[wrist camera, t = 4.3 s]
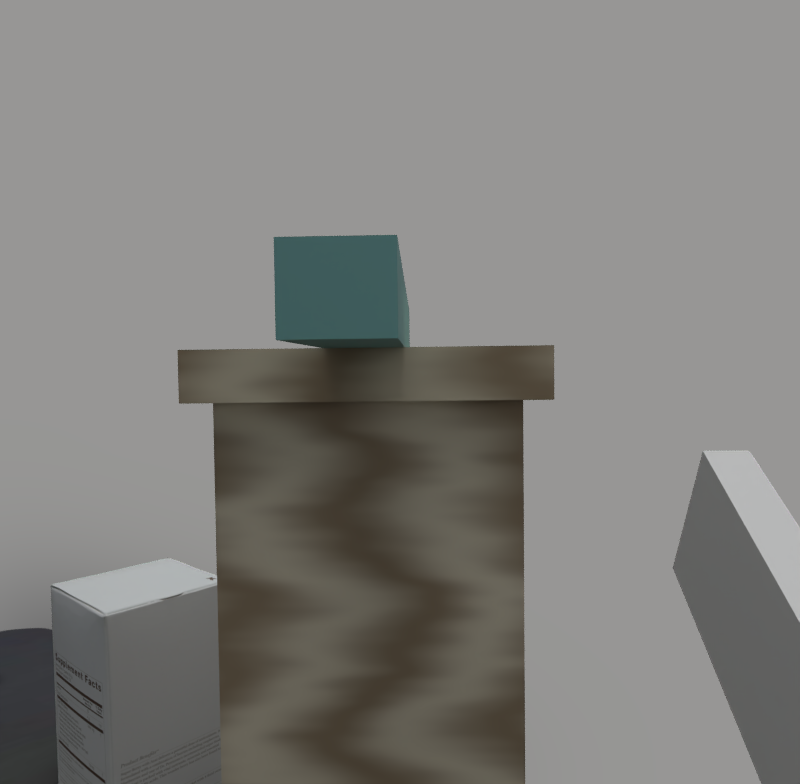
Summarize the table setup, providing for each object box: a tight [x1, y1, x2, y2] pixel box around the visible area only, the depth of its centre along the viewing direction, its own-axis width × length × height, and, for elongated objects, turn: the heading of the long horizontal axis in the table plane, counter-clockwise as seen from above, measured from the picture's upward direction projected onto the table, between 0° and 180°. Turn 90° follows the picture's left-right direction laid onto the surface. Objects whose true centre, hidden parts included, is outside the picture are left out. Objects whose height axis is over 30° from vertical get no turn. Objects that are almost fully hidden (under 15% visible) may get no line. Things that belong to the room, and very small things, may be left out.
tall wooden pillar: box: [178, 345, 554, 784], centre depth 35 cm, size 14×16×30 cm
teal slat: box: [274, 235, 410, 348], centre depth 29 cm, size 3×24×2 cm, turn 179°
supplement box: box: [51, 558, 222, 784], centre depth 49 cm, size 9×9×15 cm
